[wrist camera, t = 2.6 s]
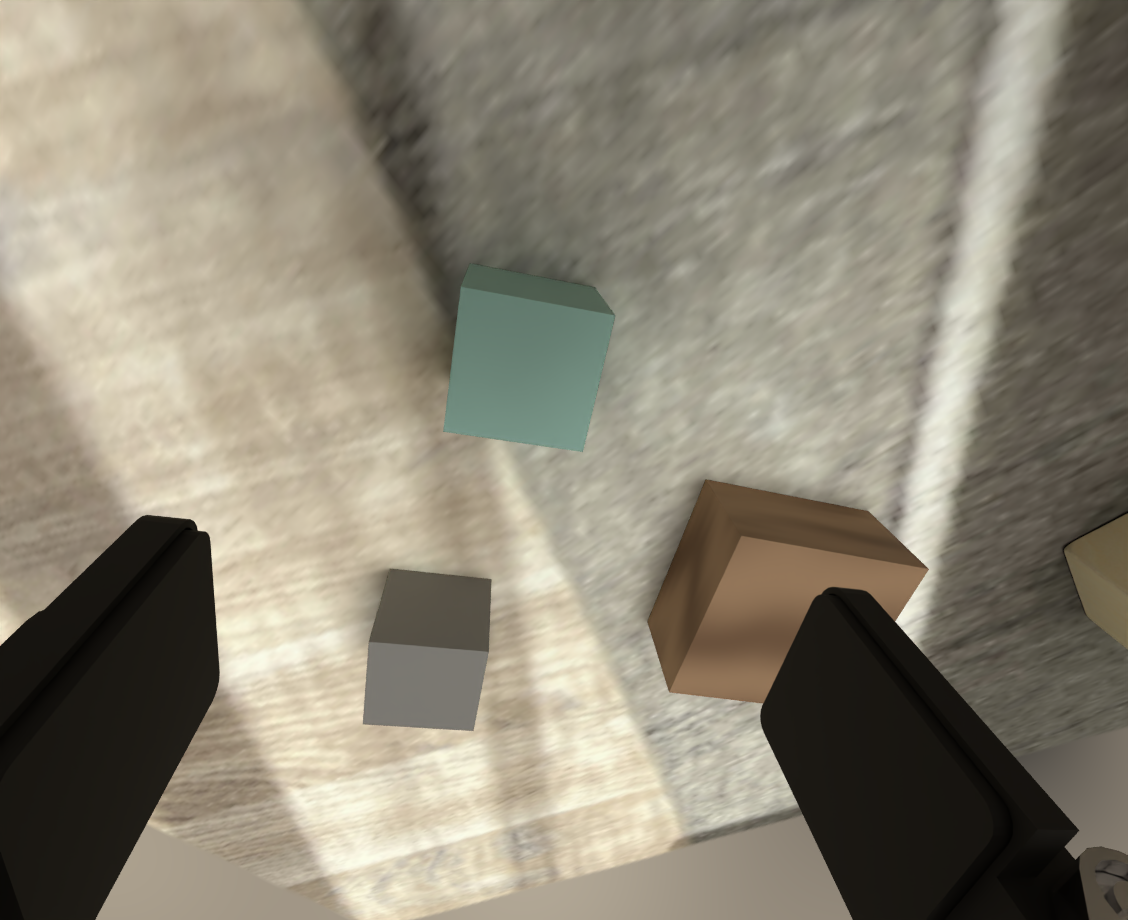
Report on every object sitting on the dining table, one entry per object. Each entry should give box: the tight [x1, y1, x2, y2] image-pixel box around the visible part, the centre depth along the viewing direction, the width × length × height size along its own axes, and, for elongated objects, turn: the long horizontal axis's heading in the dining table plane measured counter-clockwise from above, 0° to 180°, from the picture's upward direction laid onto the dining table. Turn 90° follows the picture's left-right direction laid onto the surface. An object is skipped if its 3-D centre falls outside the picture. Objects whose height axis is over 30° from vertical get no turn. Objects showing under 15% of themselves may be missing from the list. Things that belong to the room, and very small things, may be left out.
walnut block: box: [648, 480, 929, 703], centre depth 29 cm, size 9×9×5 cm
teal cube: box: [443, 263, 615, 452], centre depth 22 cm, size 5×5×5 cm
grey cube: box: [363, 569, 491, 731], centre depth 28 cm, size 5×5×5 cm
